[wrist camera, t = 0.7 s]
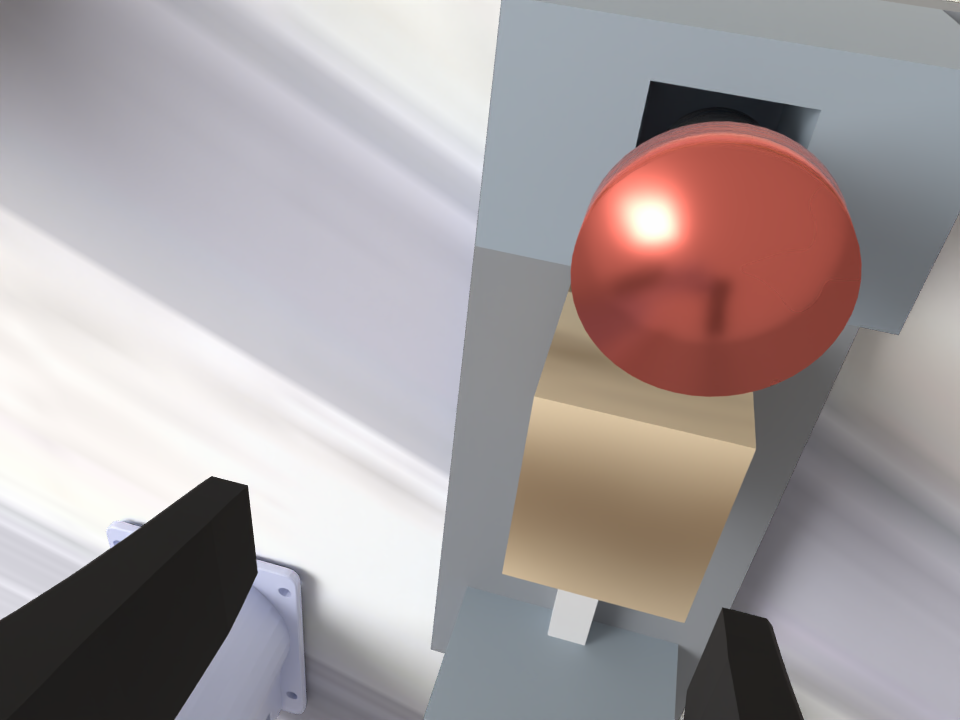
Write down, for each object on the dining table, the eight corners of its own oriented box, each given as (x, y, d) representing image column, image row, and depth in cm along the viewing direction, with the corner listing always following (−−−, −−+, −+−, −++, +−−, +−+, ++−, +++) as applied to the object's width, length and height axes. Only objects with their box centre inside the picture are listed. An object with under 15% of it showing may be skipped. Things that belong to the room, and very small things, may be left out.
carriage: (691, 468, 21) (684, 623, 17) (543, 432, 21) (501, 573, 17) (748, 307, 18) (756, 448, 14) (575, 271, 18) (534, 396, 14)
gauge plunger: (783, 276, 13) (803, 422, 10) (591, 237, 13) (551, 364, 10) (857, 78, 11) (912, 179, 8) (631, 40, 11) (597, 122, 8)
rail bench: (679, 690, 28) (671, 882, 23) (440, 622, 30) (381, 790, 24) (982, 5, 15) (1121, 102, 10) (519, -65, 16) (427, -12, 11)
